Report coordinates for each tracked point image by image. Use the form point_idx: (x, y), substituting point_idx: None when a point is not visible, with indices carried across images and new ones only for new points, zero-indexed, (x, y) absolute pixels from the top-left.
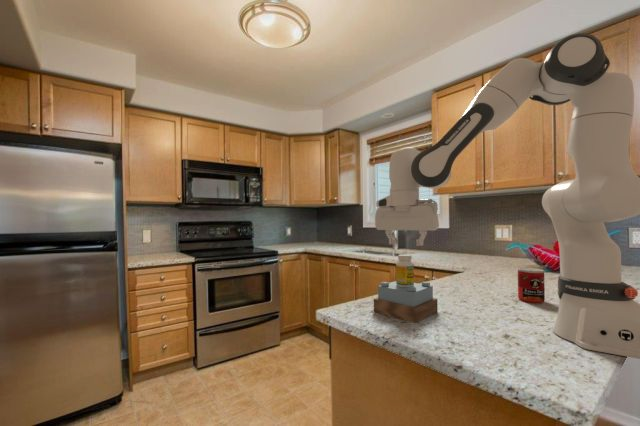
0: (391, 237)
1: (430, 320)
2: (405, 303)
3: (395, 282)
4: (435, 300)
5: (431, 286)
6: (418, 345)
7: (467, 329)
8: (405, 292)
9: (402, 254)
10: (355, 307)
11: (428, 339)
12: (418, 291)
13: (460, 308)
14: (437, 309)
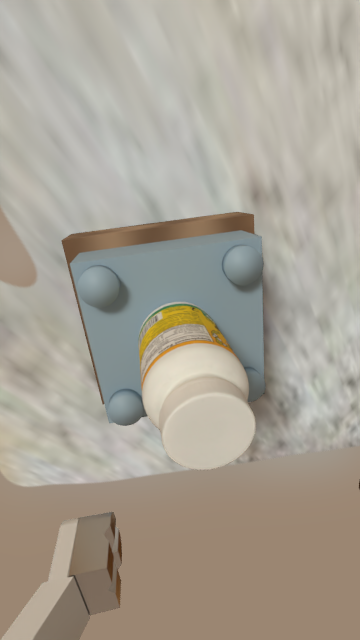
0: (72, 617)
1: None
2: None
3: (102, 318)
4: (252, 232)
5: (261, 249)
6: (308, 440)
7: (356, 290)
8: None
9: (177, 423)
10: (33, 394)
11: (310, 407)
12: (263, 363)
13: (279, 89)
14: (239, 212)
